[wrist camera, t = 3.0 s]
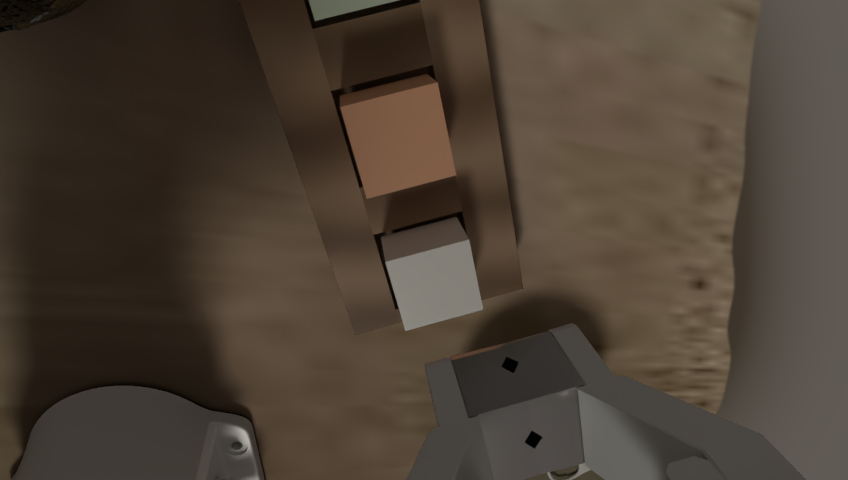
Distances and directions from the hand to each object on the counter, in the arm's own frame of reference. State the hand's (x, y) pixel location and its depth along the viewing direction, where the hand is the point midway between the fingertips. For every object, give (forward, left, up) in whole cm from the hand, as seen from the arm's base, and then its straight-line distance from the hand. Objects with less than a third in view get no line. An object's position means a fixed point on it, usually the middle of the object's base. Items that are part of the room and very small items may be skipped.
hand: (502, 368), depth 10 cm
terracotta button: (0, 0, -22) cm, 22 cm away
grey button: (-9, 0, -22) cm, 23 cm away
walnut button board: (0, 0, -24) cm, 24 cm away
